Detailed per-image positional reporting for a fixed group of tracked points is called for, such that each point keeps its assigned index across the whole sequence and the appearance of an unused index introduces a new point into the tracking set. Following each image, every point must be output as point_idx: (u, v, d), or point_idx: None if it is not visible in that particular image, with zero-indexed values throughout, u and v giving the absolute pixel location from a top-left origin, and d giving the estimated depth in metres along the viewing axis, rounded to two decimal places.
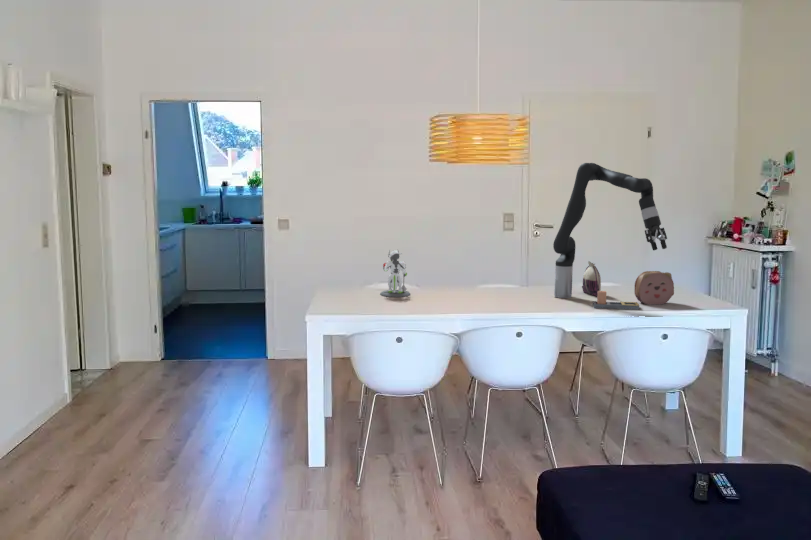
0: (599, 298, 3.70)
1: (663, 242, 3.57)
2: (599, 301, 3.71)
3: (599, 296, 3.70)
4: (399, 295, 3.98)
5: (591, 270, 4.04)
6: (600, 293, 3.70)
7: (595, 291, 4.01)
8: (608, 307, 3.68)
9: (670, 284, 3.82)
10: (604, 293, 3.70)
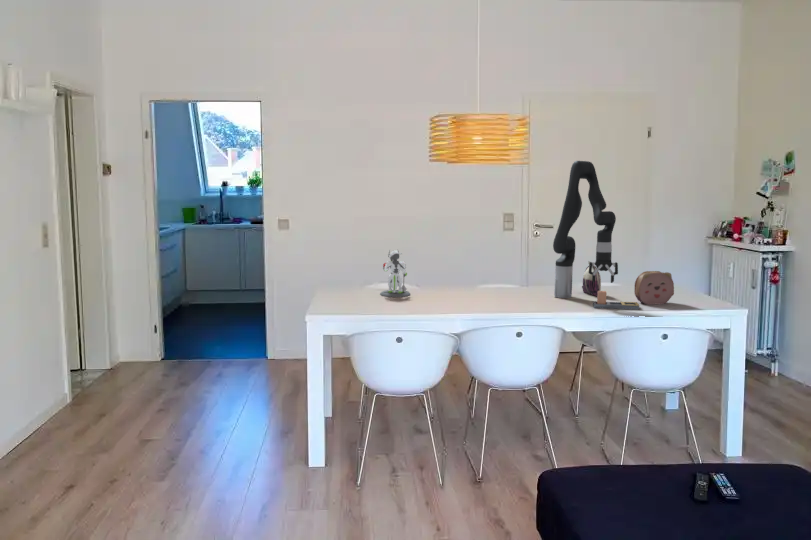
0: (599, 298, 3.70)
1: (611, 276, 3.69)
2: (599, 301, 3.71)
3: (599, 296, 3.70)
4: (399, 295, 3.98)
5: None
6: (600, 293, 3.70)
7: (595, 291, 4.01)
8: (608, 307, 3.68)
9: (669, 284, 3.82)
10: (604, 293, 3.70)
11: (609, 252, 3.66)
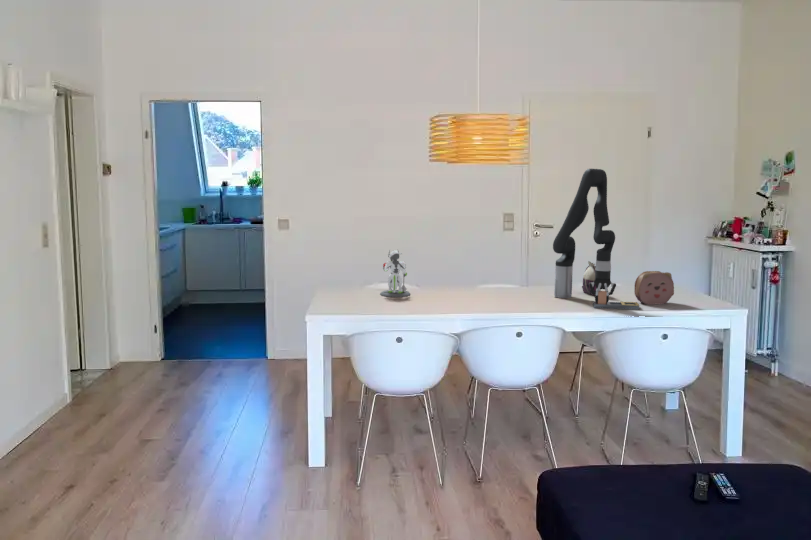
0: (599, 298, 3.70)
1: None
2: (599, 301, 3.71)
3: (599, 296, 3.70)
4: (399, 295, 3.98)
5: (591, 270, 4.04)
6: (600, 293, 3.70)
7: (595, 291, 4.01)
8: (608, 307, 3.68)
9: (670, 284, 3.82)
10: (604, 293, 3.70)
11: (608, 271, 3.67)
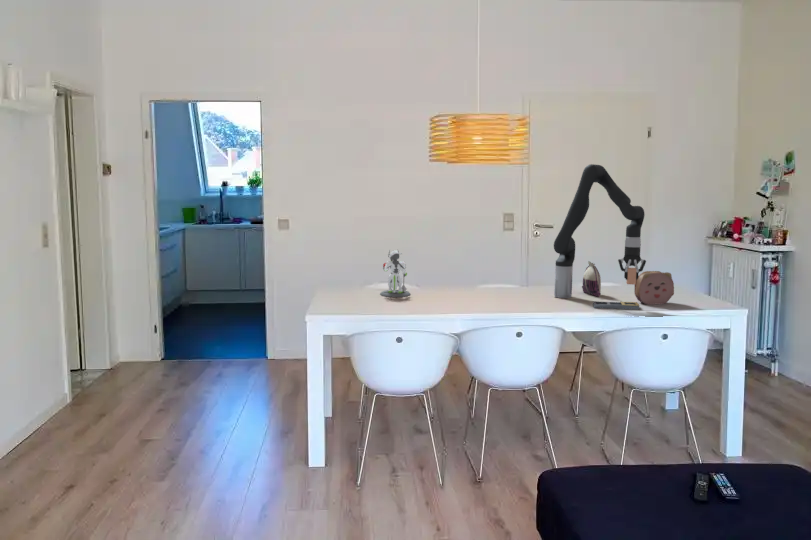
0: (629, 275, 3.66)
1: None
2: (629, 278, 3.67)
3: (629, 273, 3.66)
4: (399, 295, 3.98)
5: (591, 270, 4.04)
6: (630, 270, 3.66)
7: (595, 291, 4.01)
8: (608, 307, 3.68)
9: (670, 284, 3.82)
10: (634, 270, 3.66)
11: (638, 247, 3.63)
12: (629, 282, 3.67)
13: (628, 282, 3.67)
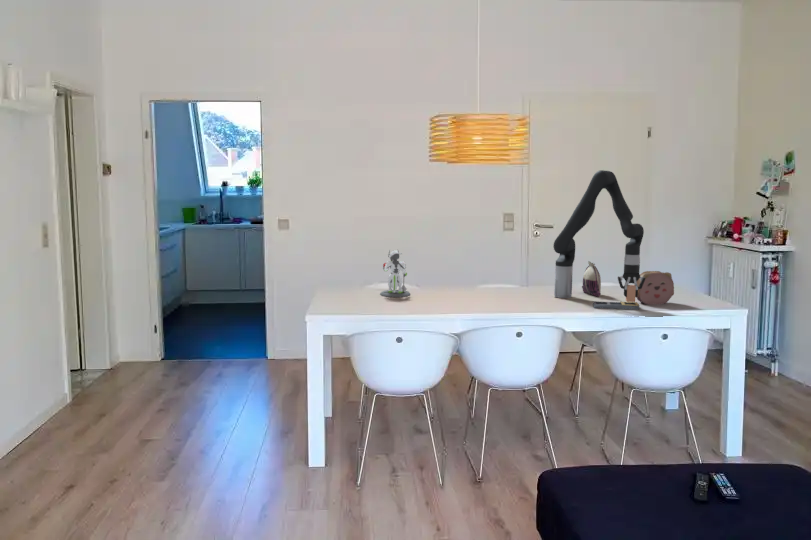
0: (628, 292, 3.68)
1: None
2: (628, 295, 3.68)
3: (628, 290, 3.67)
4: (399, 295, 3.98)
5: (591, 270, 4.04)
6: (629, 287, 3.67)
7: (595, 291, 4.01)
8: (608, 307, 3.68)
9: (670, 284, 3.82)
10: (633, 287, 3.67)
11: (637, 265, 3.64)
12: (628, 299, 3.68)
13: (627, 299, 3.68)
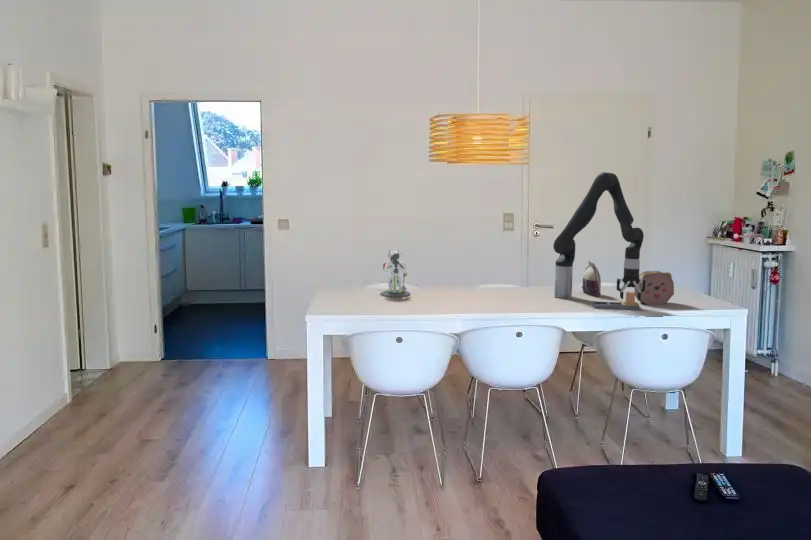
0: (627, 299, 3.68)
1: (638, 293, 3.68)
2: (627, 302, 3.68)
3: (627, 297, 3.68)
4: (399, 295, 3.98)
5: (591, 270, 4.04)
6: (628, 294, 3.68)
7: (595, 291, 4.01)
8: (608, 307, 3.68)
9: (669, 284, 3.82)
10: (633, 294, 3.67)
11: (637, 269, 3.64)
12: None
13: None
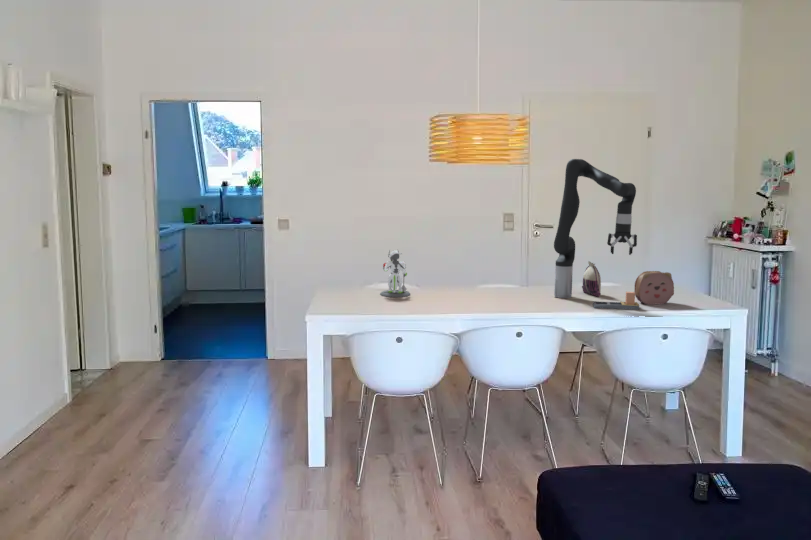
0: (627, 299, 3.68)
1: (629, 248, 3.70)
2: (627, 302, 3.68)
3: (627, 297, 3.68)
4: (399, 295, 3.98)
5: (591, 270, 4.04)
6: (628, 294, 3.68)
7: (595, 291, 4.01)
8: (608, 307, 3.68)
9: (670, 284, 3.82)
10: (633, 294, 3.67)
11: (629, 224, 3.66)
12: None
13: None
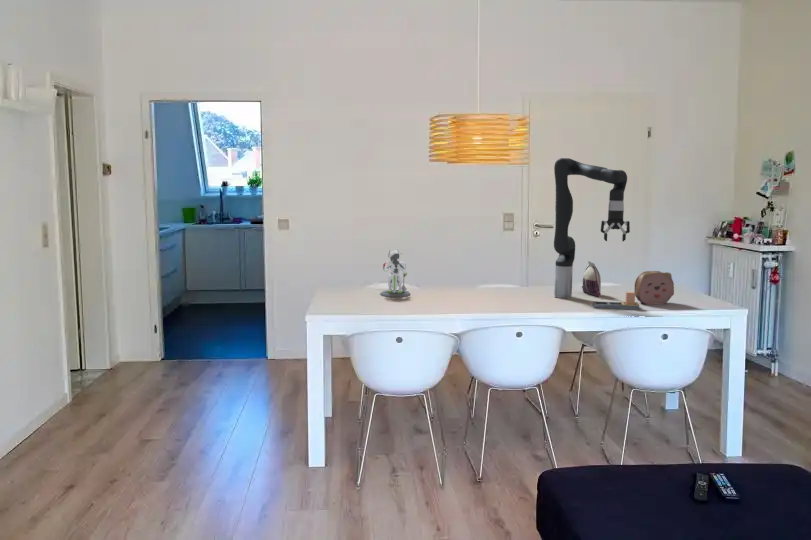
0: (627, 299, 3.68)
1: None
2: (627, 302, 3.68)
3: (627, 297, 3.68)
4: (399, 295, 3.98)
5: (591, 270, 4.04)
6: (629, 294, 3.68)
7: (595, 291, 4.01)
8: (608, 307, 3.68)
9: (669, 284, 3.82)
10: (633, 294, 3.67)
11: (621, 210, 3.70)
12: None
13: None
